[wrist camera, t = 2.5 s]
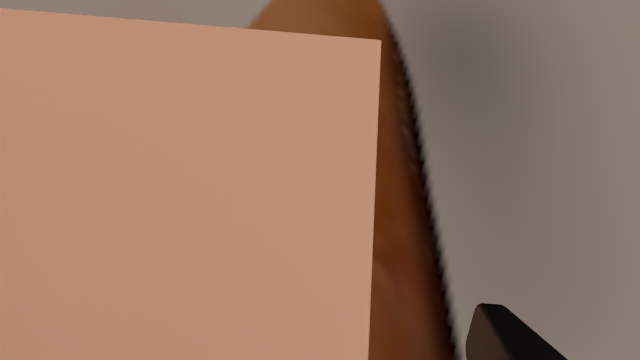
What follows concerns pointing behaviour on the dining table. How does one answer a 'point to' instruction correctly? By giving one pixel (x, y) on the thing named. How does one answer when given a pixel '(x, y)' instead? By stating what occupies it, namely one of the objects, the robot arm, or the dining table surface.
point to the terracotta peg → (184, 190)
